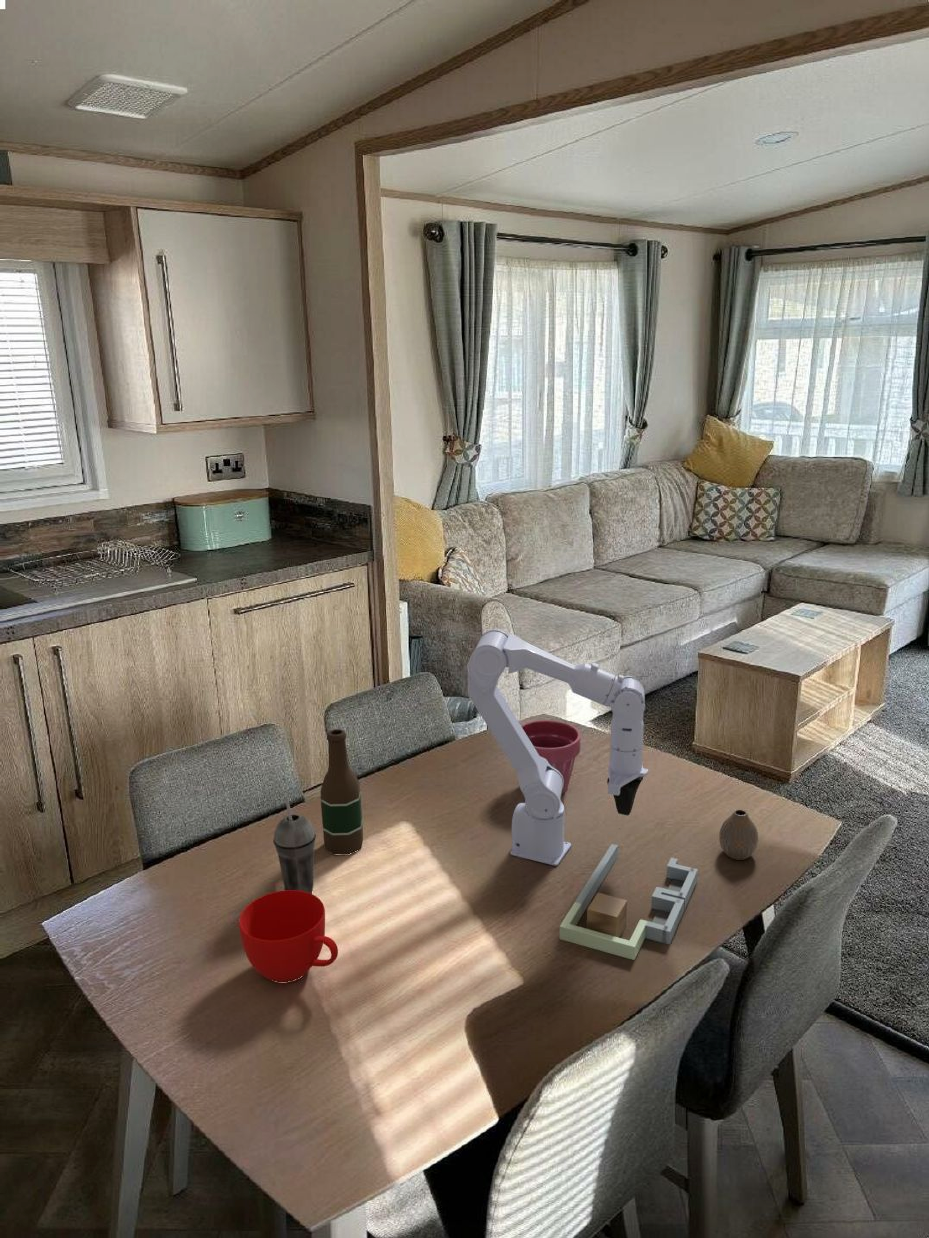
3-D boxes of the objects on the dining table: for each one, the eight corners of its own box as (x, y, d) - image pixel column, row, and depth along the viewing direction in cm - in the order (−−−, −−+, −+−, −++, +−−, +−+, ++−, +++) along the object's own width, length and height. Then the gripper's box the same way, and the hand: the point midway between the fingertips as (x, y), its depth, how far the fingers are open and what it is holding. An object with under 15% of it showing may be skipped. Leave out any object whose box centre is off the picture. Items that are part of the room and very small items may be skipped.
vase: (758, 866, 165) (762, 823, 162) (719, 862, 166) (722, 820, 164) (754, 845, 171) (758, 804, 169) (717, 842, 173) (719, 801, 170)
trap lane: (559, 938, 146) (559, 926, 146) (611, 855, 169) (611, 843, 169) (659, 967, 139) (660, 954, 138) (699, 875, 162) (700, 864, 162)
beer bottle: (316, 852, 173) (306, 737, 166) (336, 832, 180) (328, 721, 172) (352, 859, 170) (344, 743, 163) (371, 839, 177) (364, 726, 170)
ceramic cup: (310, 1019, 130) (305, 961, 127) (226, 979, 139) (220, 923, 136) (366, 967, 141) (362, 912, 138) (285, 933, 149) (279, 880, 146)
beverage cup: (328, 889, 161) (320, 788, 155) (305, 911, 155) (296, 807, 149) (294, 879, 164) (285, 780, 158) (270, 901, 158) (260, 799, 152)
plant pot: (583, 803, 188) (584, 747, 185) (515, 804, 189) (515, 748, 185) (576, 771, 202) (576, 718, 198) (513, 772, 202) (512, 719, 199)
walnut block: (586, 935, 147) (587, 908, 146) (597, 918, 151) (597, 892, 150) (616, 943, 145) (617, 917, 143) (626, 926, 149) (627, 900, 148)
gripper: (636, 766, 154) (634, 836, 158) (659, 733, 166) (656, 799, 170) (597, 758, 157) (595, 827, 161) (621, 727, 169) (619, 792, 173)
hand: (624, 812), depth 166 cm, fingers closed
